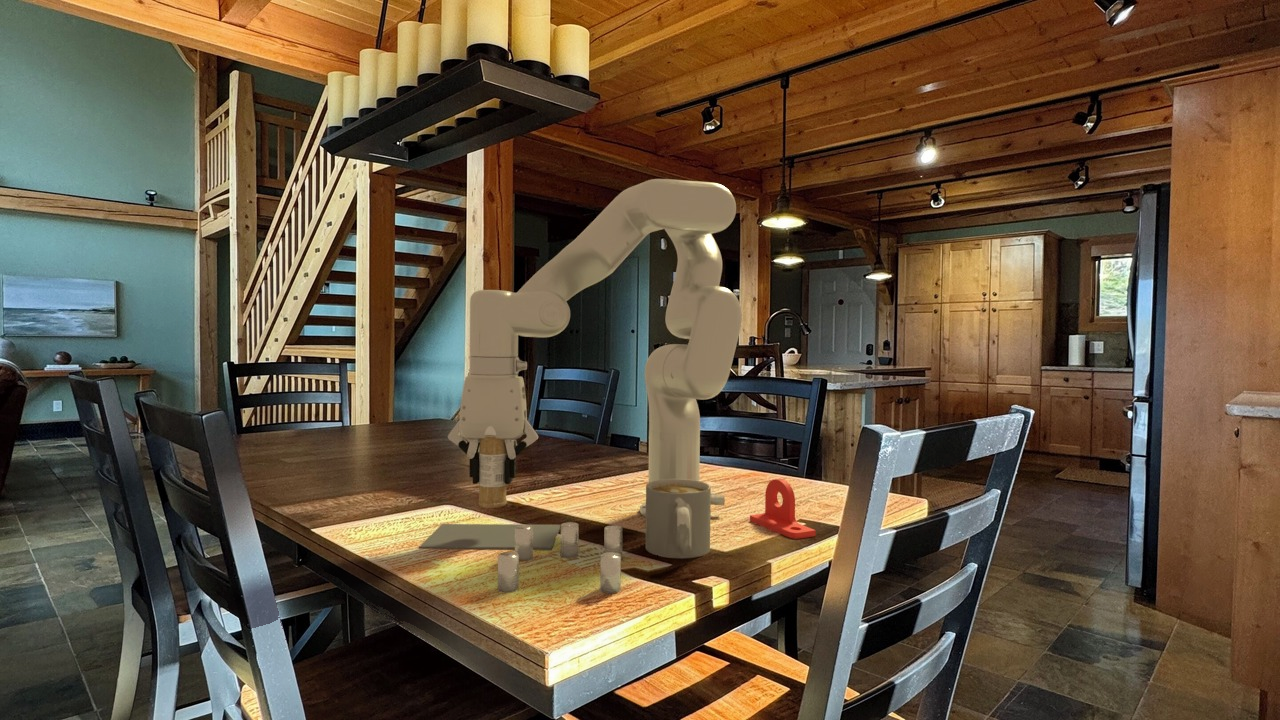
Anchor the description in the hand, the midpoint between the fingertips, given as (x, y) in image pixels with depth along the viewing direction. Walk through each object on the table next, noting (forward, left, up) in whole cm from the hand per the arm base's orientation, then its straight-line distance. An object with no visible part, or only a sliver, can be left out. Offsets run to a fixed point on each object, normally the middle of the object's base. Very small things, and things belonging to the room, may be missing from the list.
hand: (492, 481), depth 105 cm
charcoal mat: (0, 0, -10) cm, 10 cm away
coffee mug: (-29, +6, -10) cm, 31 cm away
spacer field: (-13, +16, -10) cm, 23 cm away
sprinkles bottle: (0, 0, -4) cm, 4 cm away
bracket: (-48, -8, -10) cm, 50 cm away
